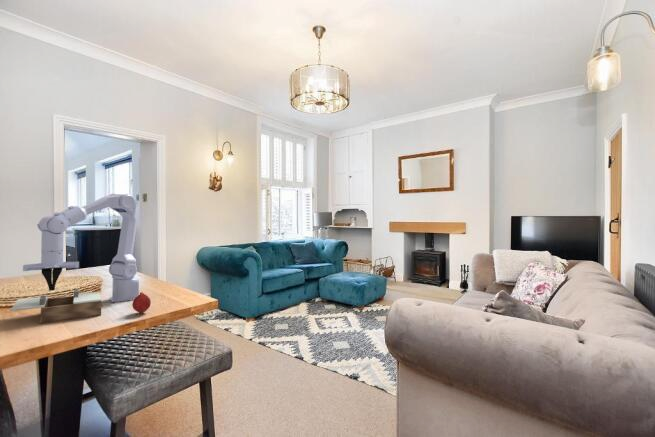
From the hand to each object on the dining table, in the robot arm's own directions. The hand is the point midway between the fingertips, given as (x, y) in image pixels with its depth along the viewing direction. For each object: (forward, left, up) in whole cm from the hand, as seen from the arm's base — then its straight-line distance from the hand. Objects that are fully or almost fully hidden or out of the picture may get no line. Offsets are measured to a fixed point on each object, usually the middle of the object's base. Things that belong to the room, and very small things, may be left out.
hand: (51, 289), depth 110 cm
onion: (-26, +12, -10) cm, 30 cm away
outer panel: (+5, +1, -4) cm, 7 cm away
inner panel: (-10, +1, -4) cm, 11 cm away
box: (-6, +1, -9) cm, 11 cm away
